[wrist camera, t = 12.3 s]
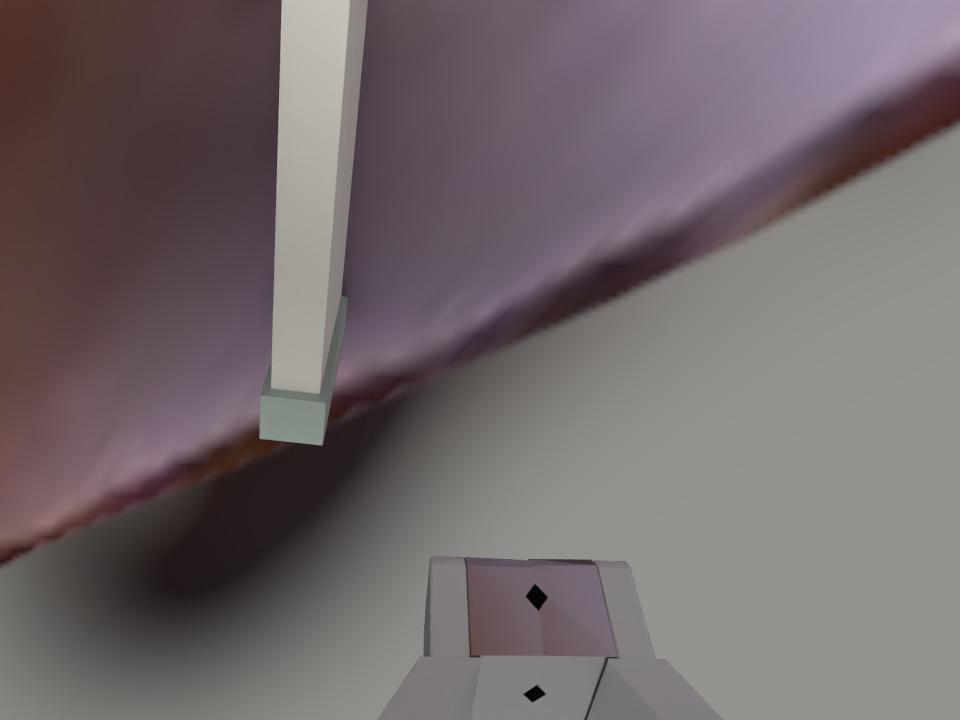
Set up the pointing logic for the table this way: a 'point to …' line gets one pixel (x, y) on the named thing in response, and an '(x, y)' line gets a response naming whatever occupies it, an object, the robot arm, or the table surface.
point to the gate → (312, 211)
